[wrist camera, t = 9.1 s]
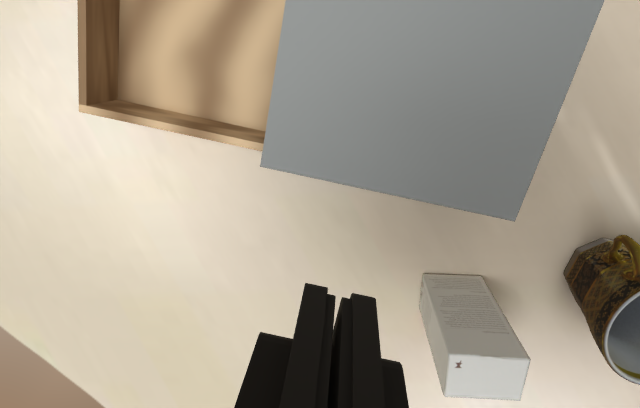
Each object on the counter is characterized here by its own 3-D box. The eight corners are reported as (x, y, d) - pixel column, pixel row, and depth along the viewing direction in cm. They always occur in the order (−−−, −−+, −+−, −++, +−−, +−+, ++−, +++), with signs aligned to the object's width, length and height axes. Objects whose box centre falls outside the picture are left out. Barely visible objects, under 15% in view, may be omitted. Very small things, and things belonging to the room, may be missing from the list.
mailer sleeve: (556, 5, 32) (607, -8, 26) (486, 192, 38) (514, 221, 31) (308, -48, 32) (296, -74, 26) (276, 147, 38) (260, 166, 31)
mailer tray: (356, -26, 32) (356, -40, 27) (320, 148, 37) (315, 162, 32) (117, -77, 32) (76, -100, 27) (114, 104, 37) (78, 111, 32)
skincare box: (418, 307, 43) (441, 398, 32) (421, 272, 41) (447, 353, 30) (477, 310, 42) (522, 403, 31) (483, 274, 41) (532, 358, 30)
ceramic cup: (668, 288, 40) (765, 360, 31) (565, 326, 42) (626, 404, 33) (627, 176, 36) (722, 218, 27) (518, 225, 39) (571, 279, 29)
